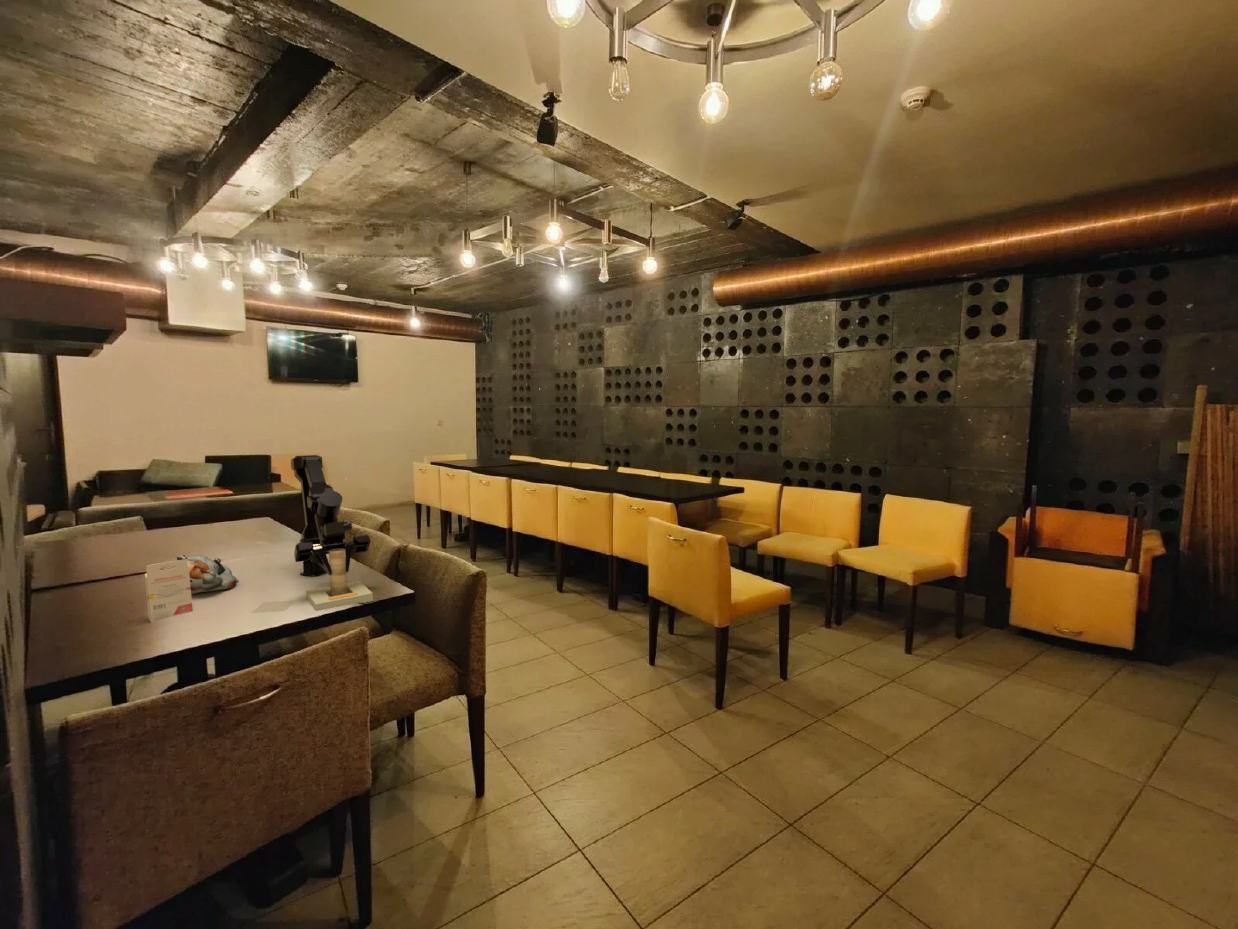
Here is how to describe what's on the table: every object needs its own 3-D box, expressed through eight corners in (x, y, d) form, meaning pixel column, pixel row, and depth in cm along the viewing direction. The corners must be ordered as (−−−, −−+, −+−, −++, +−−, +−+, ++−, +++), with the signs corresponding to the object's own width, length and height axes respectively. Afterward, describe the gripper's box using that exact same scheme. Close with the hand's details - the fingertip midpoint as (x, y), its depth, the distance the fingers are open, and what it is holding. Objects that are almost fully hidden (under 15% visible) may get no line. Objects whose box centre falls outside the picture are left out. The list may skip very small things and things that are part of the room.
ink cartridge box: (189, 609, 143) (185, 555, 142) (193, 614, 140) (189, 558, 138) (147, 618, 137) (142, 561, 136) (149, 623, 134) (145, 565, 132)
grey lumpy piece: (247, 585, 163) (233, 551, 155) (206, 612, 154) (189, 577, 146) (215, 566, 168) (200, 532, 160) (174, 591, 158) (156, 557, 151)
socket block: (306, 599, 151) (305, 589, 151) (359, 589, 160) (359, 580, 160) (316, 613, 140) (315, 603, 140) (373, 602, 149) (372, 592, 149)
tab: (264, 605, 147) (264, 602, 146) (296, 602, 148) (296, 600, 148) (251, 615, 139) (250, 612, 139) (285, 613, 141) (285, 610, 140)
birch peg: (333, 593, 152) (331, 548, 150) (348, 592, 153) (346, 548, 151) (329, 598, 148) (327, 552, 146) (345, 597, 149) (343, 551, 147)
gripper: (293, 514, 145) (303, 563, 138) (367, 507, 157) (380, 551, 149) (290, 537, 152) (299, 585, 144) (361, 529, 164) (373, 572, 156)
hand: (339, 573), depth 148 cm, fingers closed on birch peg, 4 cm apart
